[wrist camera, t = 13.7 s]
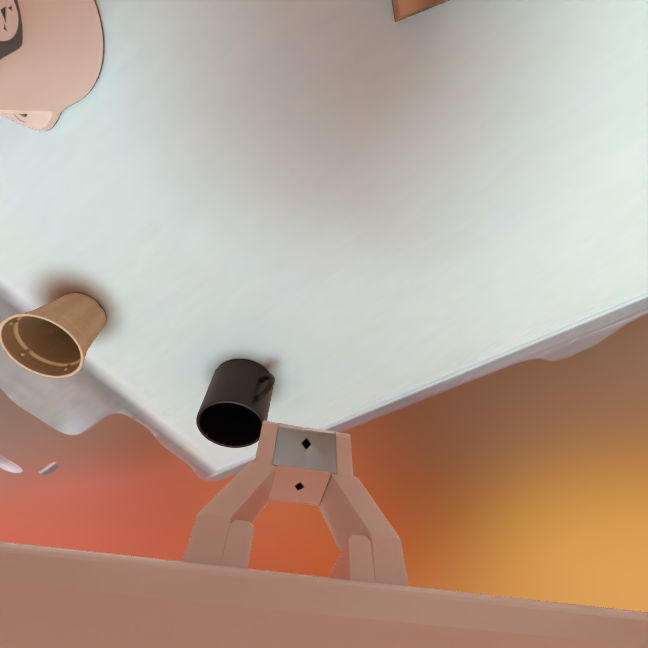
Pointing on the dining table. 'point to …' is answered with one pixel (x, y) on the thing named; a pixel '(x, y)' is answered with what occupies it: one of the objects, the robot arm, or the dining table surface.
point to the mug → (236, 404)
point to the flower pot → (53, 335)
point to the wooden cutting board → (412, 7)
